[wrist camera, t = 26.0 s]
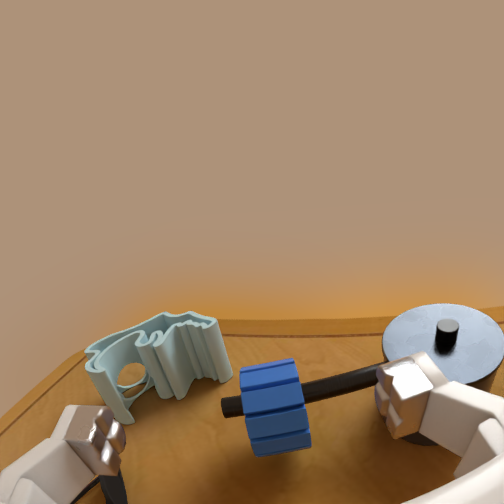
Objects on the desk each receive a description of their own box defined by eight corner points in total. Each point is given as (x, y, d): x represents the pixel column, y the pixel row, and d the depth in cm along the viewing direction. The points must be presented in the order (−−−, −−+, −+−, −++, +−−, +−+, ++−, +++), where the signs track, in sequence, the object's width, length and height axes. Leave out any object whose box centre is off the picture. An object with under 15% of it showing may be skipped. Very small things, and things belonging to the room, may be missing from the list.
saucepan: (244, 504, 23) (212, 444, 20) (239, 411, 36) (216, 341, 33) (503, 415, 23) (534, 337, 20) (450, 353, 36) (460, 281, 32)
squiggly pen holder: (201, 349, 51) (185, 299, 48) (235, 375, 43) (219, 321, 40) (105, 397, 41) (78, 349, 38) (124, 436, 34) (91, 385, 30)
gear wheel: (261, 473, 25) (241, 418, 22) (255, 409, 33) (238, 350, 30) (313, 463, 25) (306, 406, 22) (298, 401, 33) (288, 340, 30)
